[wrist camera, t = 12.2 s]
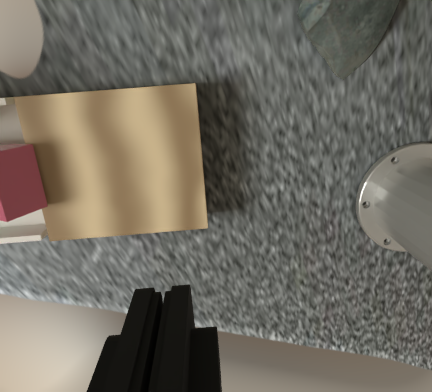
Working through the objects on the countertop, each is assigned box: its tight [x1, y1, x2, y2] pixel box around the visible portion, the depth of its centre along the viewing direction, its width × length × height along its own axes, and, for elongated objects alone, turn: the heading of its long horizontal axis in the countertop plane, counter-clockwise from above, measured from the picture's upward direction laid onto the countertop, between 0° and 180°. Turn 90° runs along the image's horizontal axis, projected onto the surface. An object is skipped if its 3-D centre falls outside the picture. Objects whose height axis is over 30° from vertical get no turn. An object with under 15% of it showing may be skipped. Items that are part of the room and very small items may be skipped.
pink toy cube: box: [0, 143, 48, 222], centre depth 32 cm, size 6×6×4 cm
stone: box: [298, 0, 400, 80], centre depth 31 cm, size 11×4×10 cm
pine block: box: [14, 83, 208, 241], centre depth 34 cm, size 16×14×4 cm
